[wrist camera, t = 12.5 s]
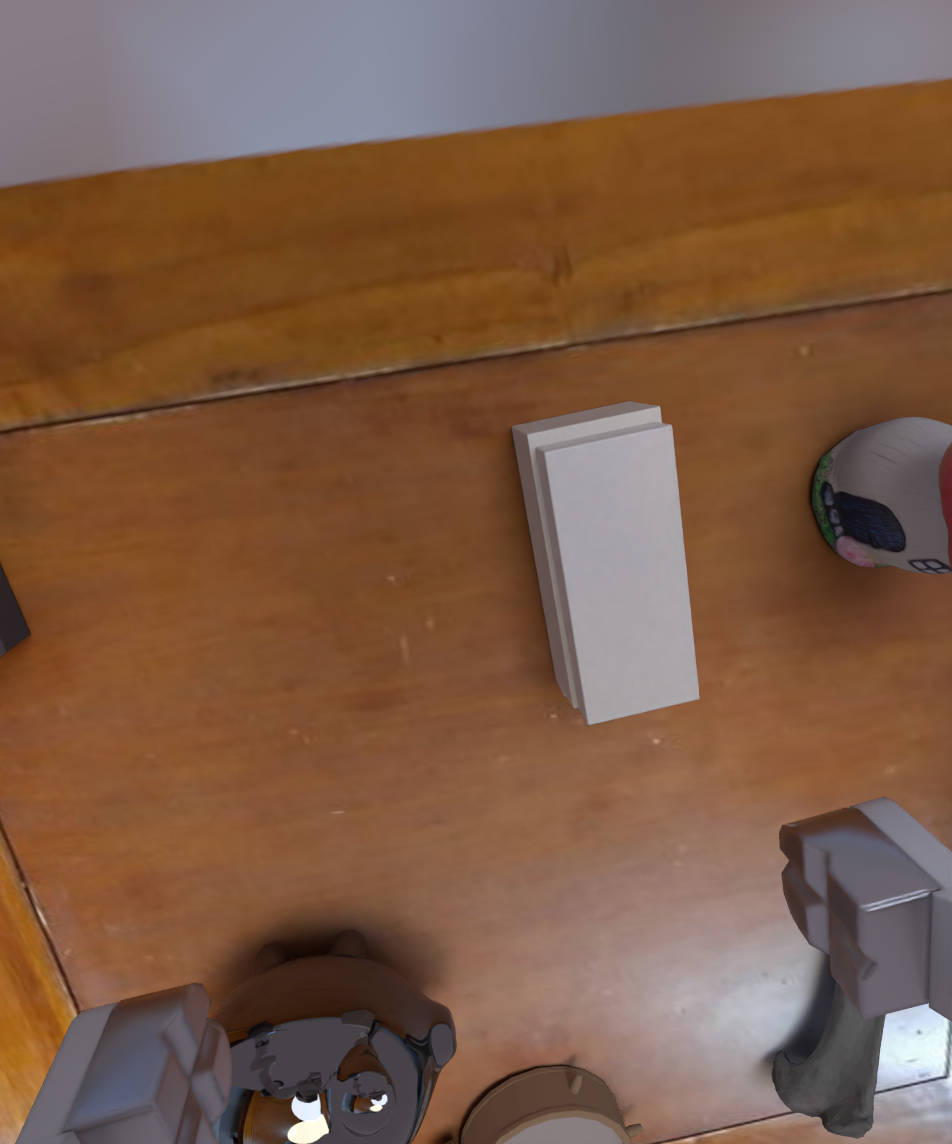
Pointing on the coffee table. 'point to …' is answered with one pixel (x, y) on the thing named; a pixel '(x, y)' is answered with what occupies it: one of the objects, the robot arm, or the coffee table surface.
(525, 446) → the grey oblong block
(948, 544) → the decorative ornament
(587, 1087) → the alarm clock
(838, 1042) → the bone
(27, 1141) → the robot arm
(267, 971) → the piggy bank
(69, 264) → the coffee table surface
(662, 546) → the pale grey rectangular block
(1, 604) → the dark grey box
